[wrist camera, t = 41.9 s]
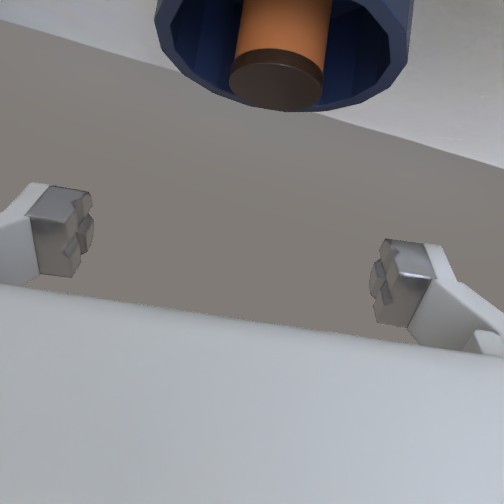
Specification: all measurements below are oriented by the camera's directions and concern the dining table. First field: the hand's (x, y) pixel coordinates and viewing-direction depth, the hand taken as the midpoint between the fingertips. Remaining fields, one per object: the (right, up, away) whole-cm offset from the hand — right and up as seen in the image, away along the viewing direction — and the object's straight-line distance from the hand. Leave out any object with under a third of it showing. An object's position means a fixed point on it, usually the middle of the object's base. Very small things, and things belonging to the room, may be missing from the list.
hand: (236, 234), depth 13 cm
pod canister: (+3, +15, +12) cm, 20 cm away
